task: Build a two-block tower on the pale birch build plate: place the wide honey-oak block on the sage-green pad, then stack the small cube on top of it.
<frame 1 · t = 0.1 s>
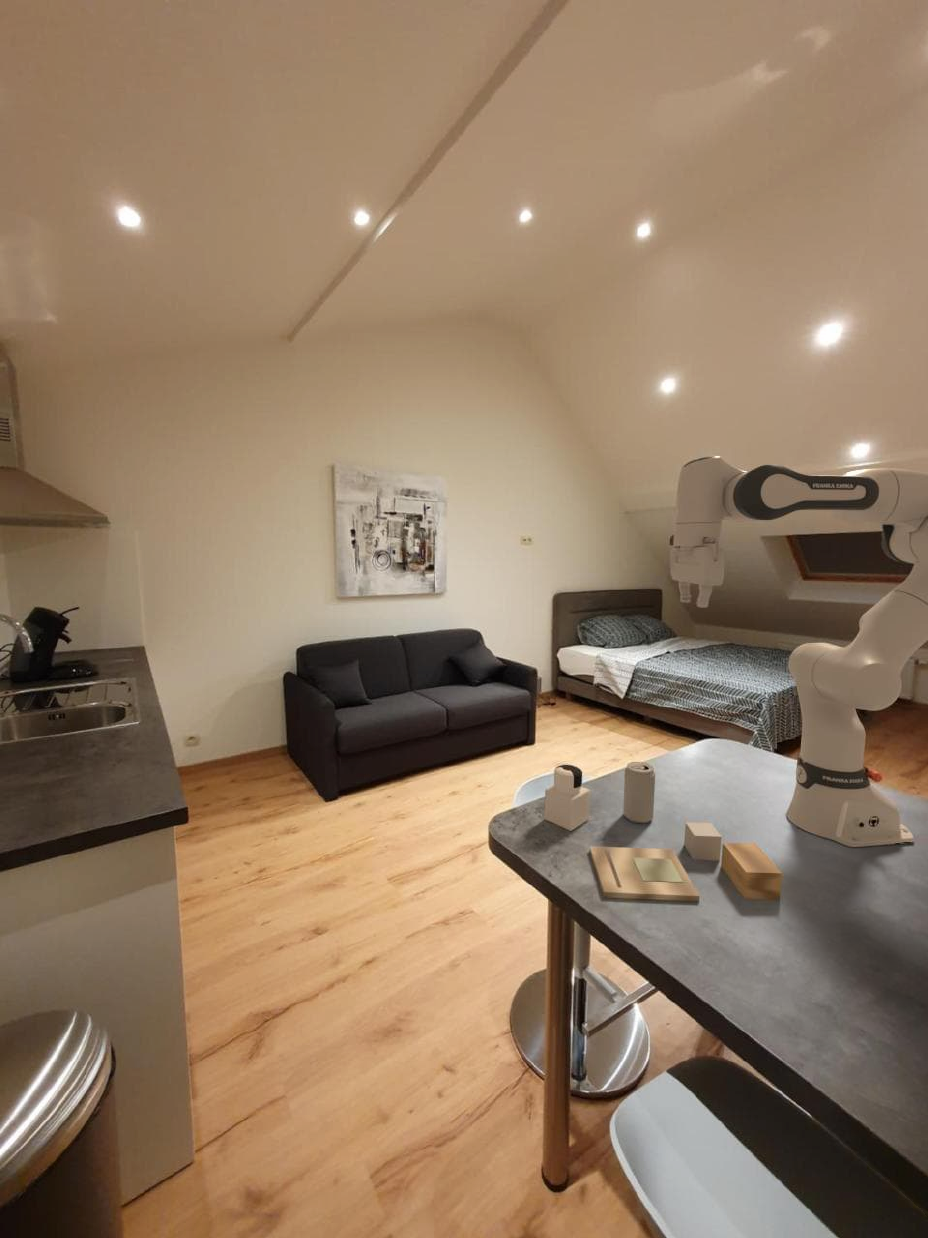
hand: (693, 604, 110), 48 cm above the table, fingers open, 8 cm apart
beverage can: (637, 818, 117), on the table
build plate: (640, 874, 97), on the table
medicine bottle: (566, 820, 116), on the table
oak block: (749, 883, 95), on the table
top cube: (701, 853, 104), on the table
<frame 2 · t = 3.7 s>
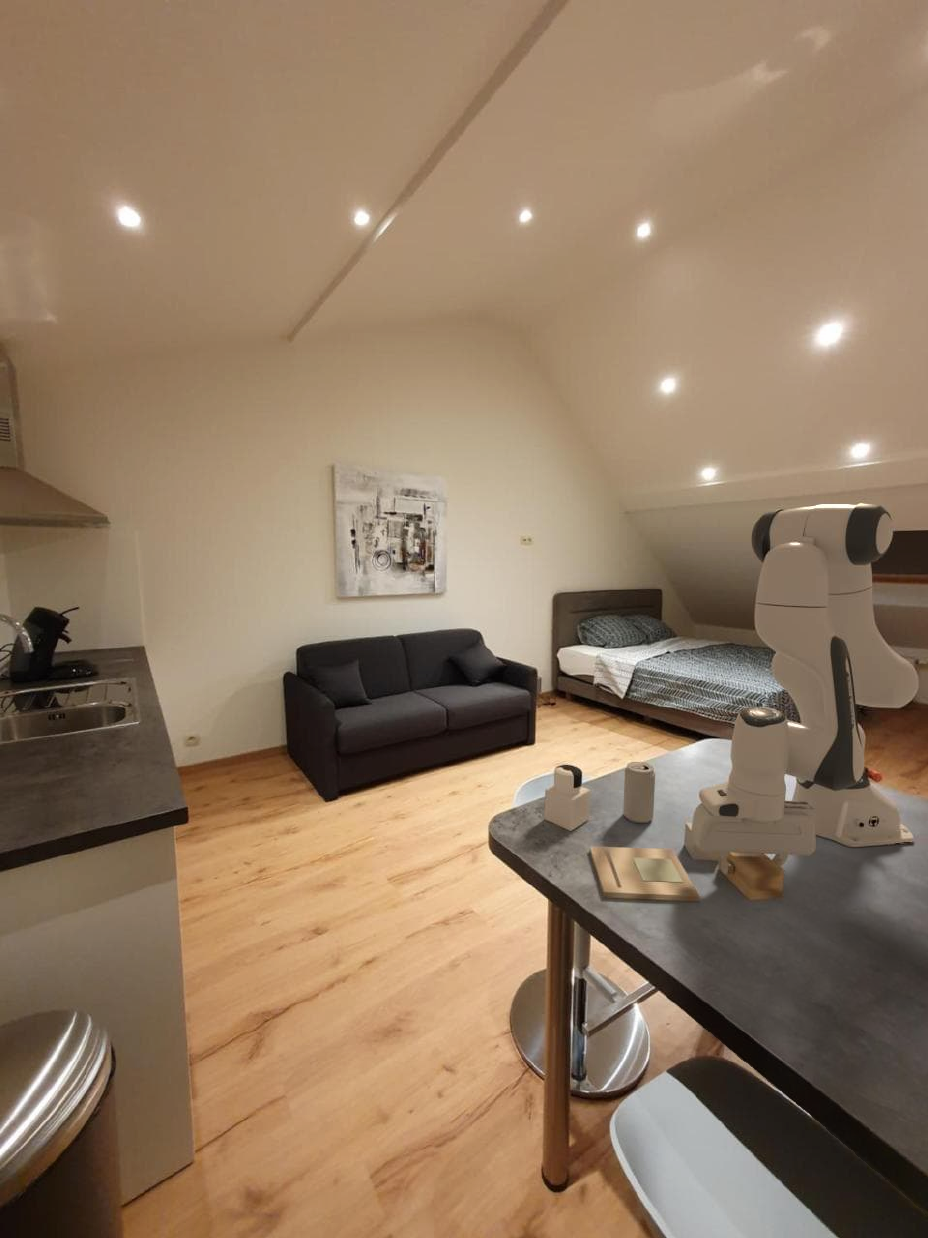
hand: (749, 873, 94), 2 cm above the table, fingers closed on oak block, 6 cm apart
oak block: (748, 882, 95), on the table, touching gripper
everything else where it was.
when the fingers open (4 cm above the table, at t = 8.9 s): oak block stays where it is, resting on build plate.
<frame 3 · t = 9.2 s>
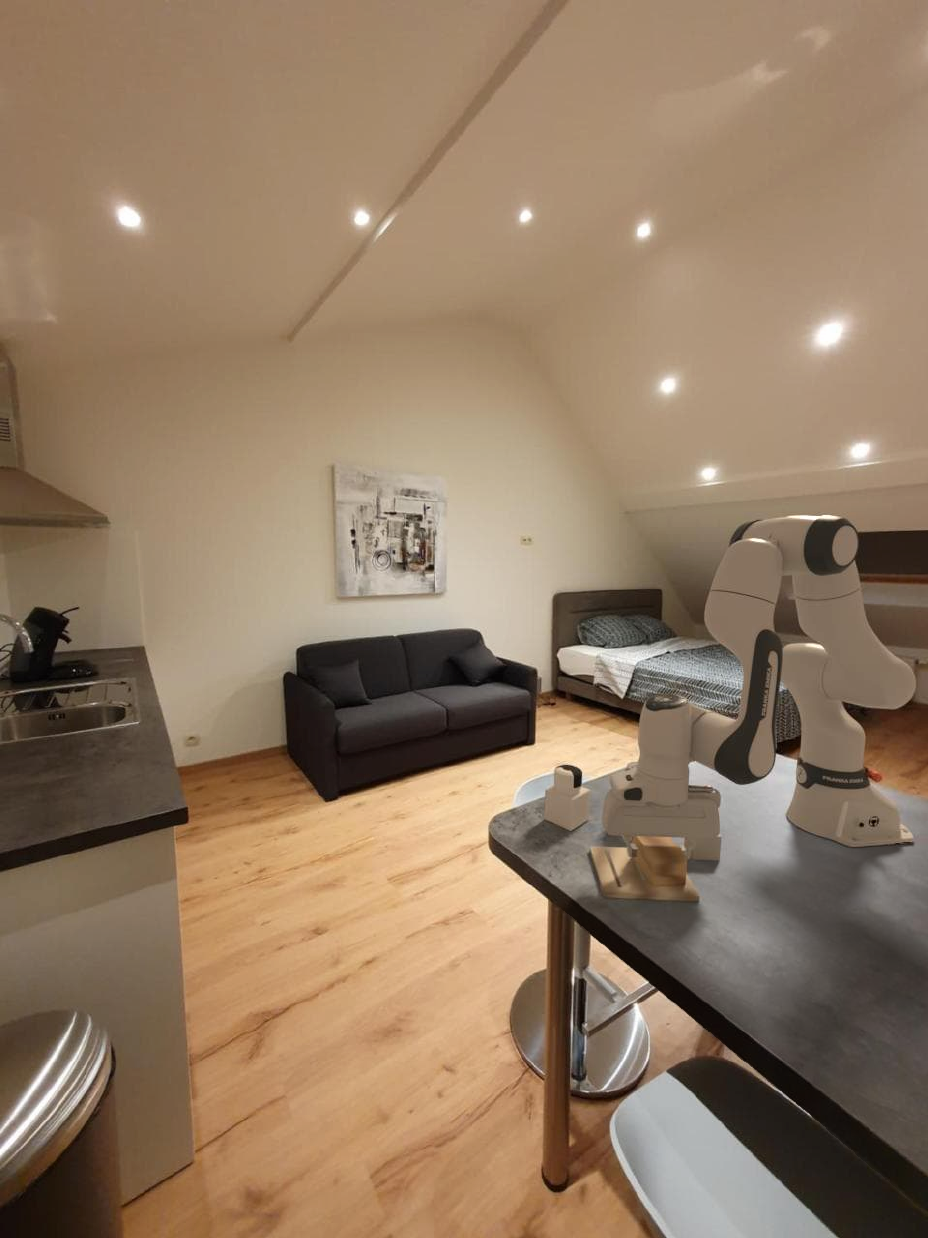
hand: (658, 856, 96), 4 cm above the table, fingers open, 8 cm apart
oak block: (657, 869, 96), point 1 cm above the table, touching build plate
everything else where it was.
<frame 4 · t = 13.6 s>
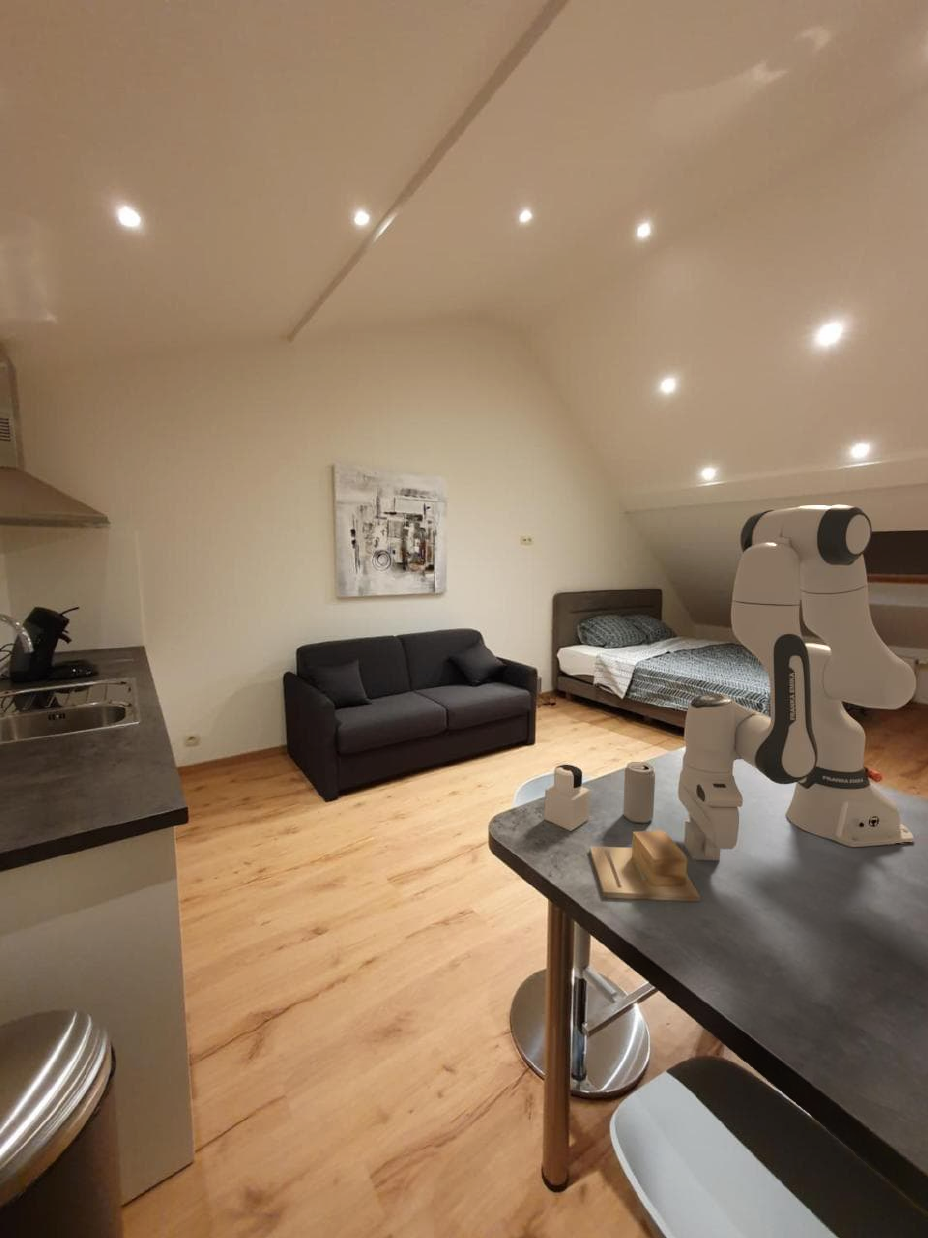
hand: (702, 844, 104), 2 cm above the table, fingers closed on top cube, 5 cm apart
top cube: (701, 852, 104), on the table, touching gripper
everything else where it was.
when the fingers open (8 cm above the table, at t = 19.0 s): top cube stays where it is, resting on oak block.
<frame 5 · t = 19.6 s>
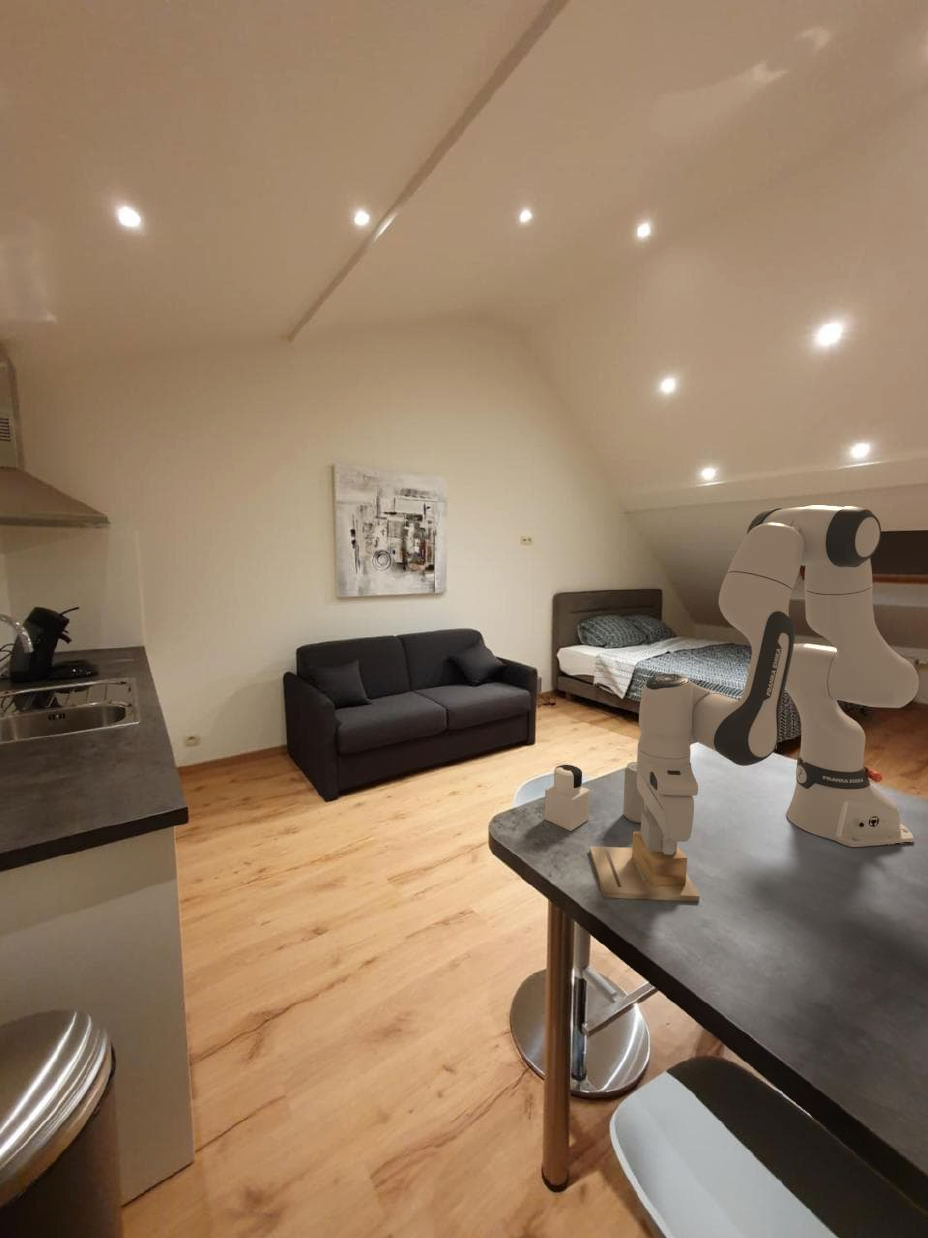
hand: (658, 837, 96), 7 cm above the table, fingers open, 8 cm apart
oak block: (657, 869, 96), point 1 cm above the table, touching build plate, top cube
top cube: (658, 844, 96), point 6 cm above the table, touching oak block
everything else where it was.
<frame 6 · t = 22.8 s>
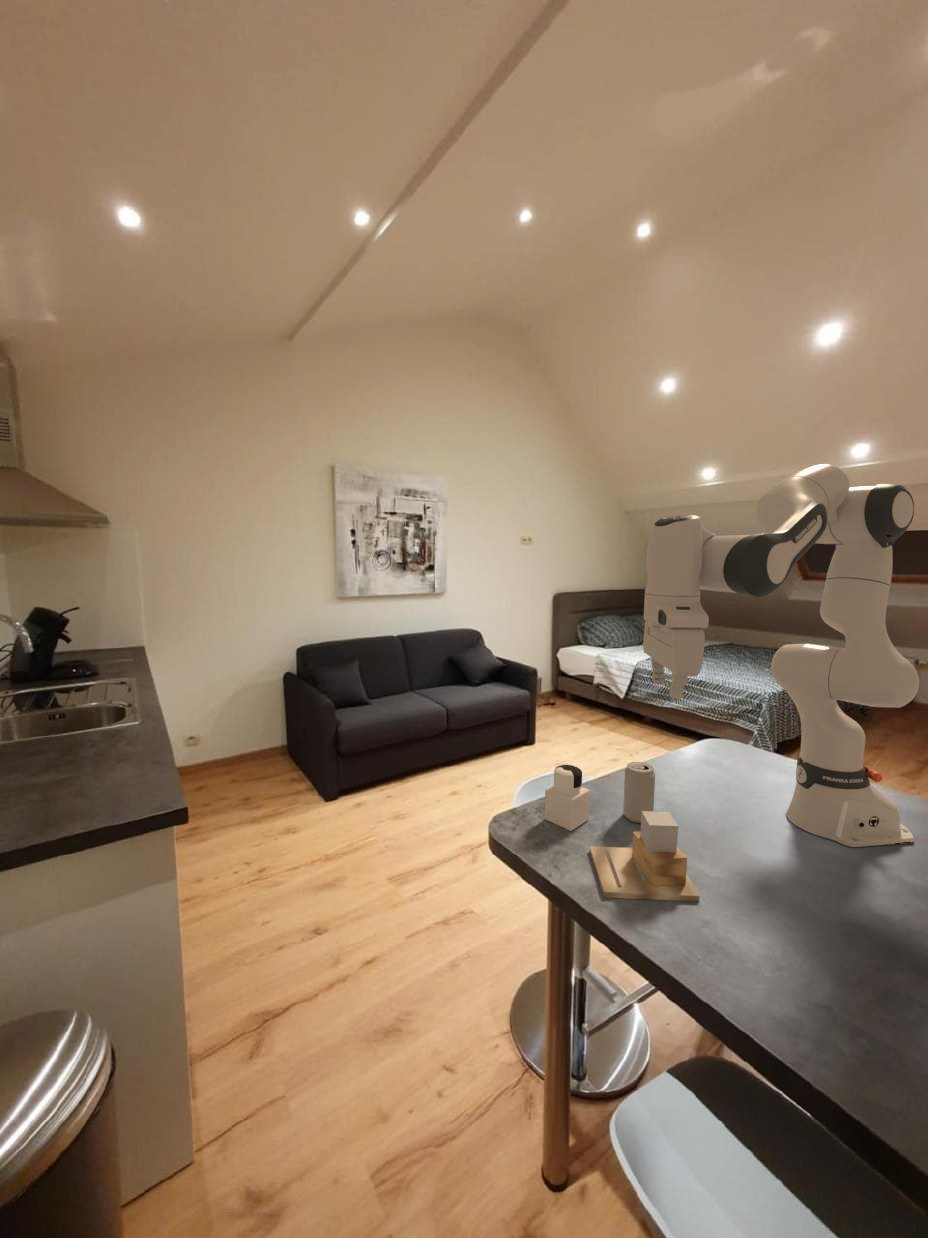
hand: (666, 689, 92), 35 cm above the table, fingers open, 8 cm apart
nothing on the table moved.
at the end: oak block 0.1 cm from the target spot on the build plate, point 1.1 cm above the build plate's base; top cube 0.2 cm from the oak block (horizontally); top cube point 6.1 cm above the table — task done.
